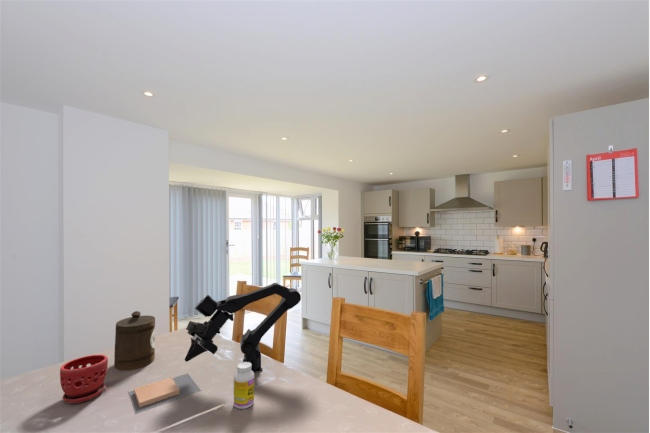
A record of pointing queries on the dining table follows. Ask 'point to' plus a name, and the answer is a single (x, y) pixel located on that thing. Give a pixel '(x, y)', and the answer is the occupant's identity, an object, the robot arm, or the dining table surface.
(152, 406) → the mat
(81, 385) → the plant pot
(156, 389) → the tile
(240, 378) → the supplement bottle
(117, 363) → the wooden container
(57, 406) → the dining table surface
